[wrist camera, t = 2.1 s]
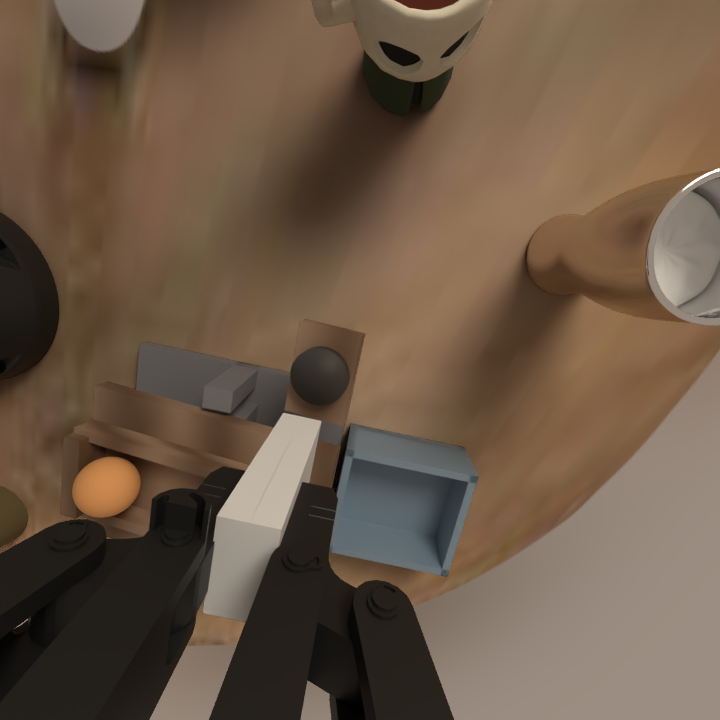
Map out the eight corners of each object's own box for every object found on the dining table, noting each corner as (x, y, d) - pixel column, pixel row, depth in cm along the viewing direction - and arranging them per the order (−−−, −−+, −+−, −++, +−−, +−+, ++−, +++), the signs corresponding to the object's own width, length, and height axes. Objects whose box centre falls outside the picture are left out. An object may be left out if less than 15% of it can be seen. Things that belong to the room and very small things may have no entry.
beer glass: (582, 313, 32) (750, 355, 18) (504, 279, 32) (610, 293, 18) (628, 229, 31) (854, 199, 16) (547, 193, 30) (703, 128, 16)
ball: (106, 488, 31) (55, 517, 27) (109, 440, 30) (57, 464, 26) (151, 505, 30) (105, 538, 26) (156, 457, 29) (109, 483, 25)
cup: (331, 513, 38) (324, 551, 33) (350, 423, 35) (346, 449, 31) (438, 536, 38) (447, 576, 33) (464, 447, 36) (478, 476, 31)
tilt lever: (117, 506, 35) (59, 549, 29) (135, 273, 30) (69, 272, 25) (317, 571, 32) (294, 630, 27) (370, 329, 28) (354, 342, 22)
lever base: (132, 504, 38) (79, 556, 31) (146, 341, 34) (89, 361, 28) (319, 543, 38) (306, 604, 32) (353, 385, 35) (347, 415, 28)
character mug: (342, 139, 30) (317, 50, 18) (322, 30, 29) (280, -154, 16) (489, 107, 29) (574, -10, 17) (477, -6, 28) (562, -231, 15)
